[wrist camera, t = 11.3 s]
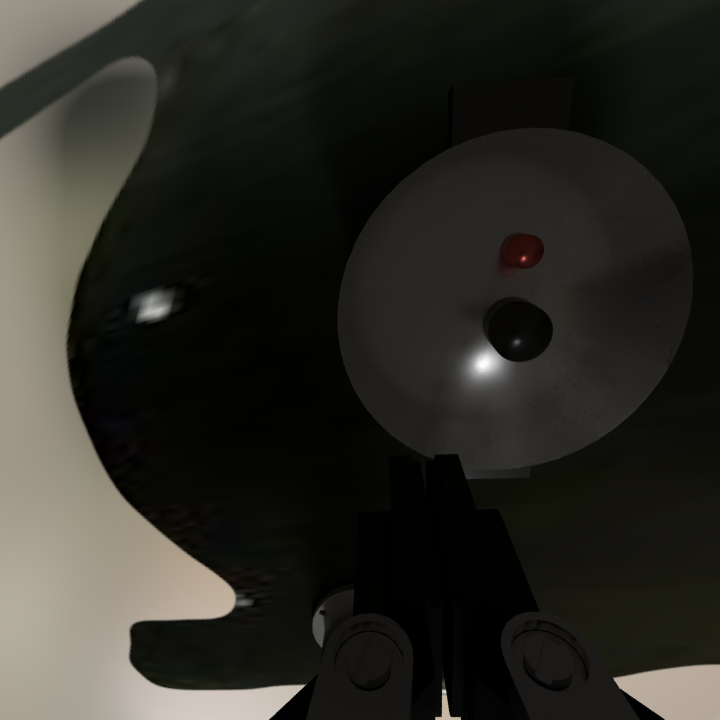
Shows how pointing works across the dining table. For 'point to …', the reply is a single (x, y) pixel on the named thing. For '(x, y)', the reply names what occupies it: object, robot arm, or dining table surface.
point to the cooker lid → (515, 298)
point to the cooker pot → (500, 113)
